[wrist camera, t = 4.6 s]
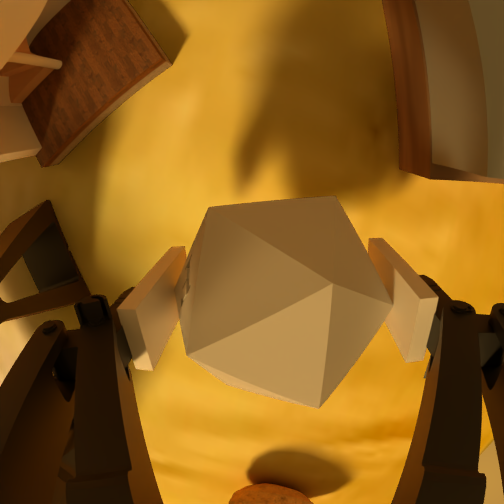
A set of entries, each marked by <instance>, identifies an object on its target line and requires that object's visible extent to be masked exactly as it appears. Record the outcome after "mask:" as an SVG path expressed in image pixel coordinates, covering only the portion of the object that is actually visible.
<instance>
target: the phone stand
mask: <svg viewBox="0 0 504 504" xmlns="http://www.w3.org/2000/svg"><path fill="white" fill-rule="evenodd" d="M22 255H23V258H24V260H25V262H26V265H27V267H28V269H29V271H30V273H31V275H32V278H33V280H34V282H35V284H36V286H37V288H38V290H39V294H36V295H33V296H29V297H26V298H23V299H20V300H17V301H14V302H11V303H6V302H4V301H3V300H2V299H1V298H0V324H1V323H2V322H5V321H10V320H14V319H18V318H22V317H26V316H30V315H34V314H39V313H43V312H47V311H51V310H54V309H58V308H61V307H65V306H68V305H72V304H75V303H76V302H77V301H79V300H80V299H82V298H84V297H87V296H90V295H91V293H90V291H89V289H88V287H87V285H86V283H85V281H84V279H83V277H82V275H81V273H80V271H79V269H78V267H77V264H76V262H75V260H74V258H73V256H72V253H71V251H69V250H68V244H67V242H66V240H65V237H64V235H63V232H62V230H61V228H60V225H59V223H58V220H57V217H56V215H55V212H54V210H53V207H52V204H51V202H50V201H49V200H46V201H44V202H42V203H41V204H39V205H38V206H36V207H34V208H33V209H31V210H30V211H28V212H27V213H25V214H24V215H22V216H21V217H19V218H18V219H16V220H15V221H13V222H12V223H10V224H9V225H8V226H7V228H6V229H5V230H4V231H3V232H2V234H1V235H0V282H1V281H2V280H3V278H4V277H5V276H6V274H7V273H8V272H9V271H10V269H11V268H12V267H13V266H14V265H15V263H16V262H17V261H18V260H19V259H20V257H21V256H22Z"/></svg>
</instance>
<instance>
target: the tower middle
mask: <svg viewBox="0 0 504 504" xmlns="http://www.w3.org/2000/svg"><path fill="white" fill-rule="evenodd" d="M415 4H416V8H417V13H418V17H419V22H420V28H421V33H422V39H423V45H424V52H425V59H426V66H427V75H428V84H429V95H430V109H431V129H432V163H434V164H438V165H442V166H447V167H451V168H455V169H458V170H462V171H466V172H470V173H473V174H477V175H481V176H484V177H488V178H498V179H504V0H415Z"/></svg>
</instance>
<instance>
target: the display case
mask: <svg viewBox="0 0 504 504" xmlns="http://www.w3.org/2000/svg"><path fill="white" fill-rule="evenodd" d="M170 66H172V63H171V62H170V61H169V59H168V58H167V56H166V55H165V53H164V52H163V50H162V49H161V47H160V46H159V44H158V43H157V42H156V40H155V39H154V37H153V36H152V34H151V33H150V31H149V30H148V29H147V27H146V26H145V24H144V23H143V21H142V20H141V19H140V17H139V16H138V14H137V13H136V11H135V10H134V9H133V7H132V6H131V4H130V3H129V2H128V0H0V163H1V162H5V161H10V160H15V159H20V158H25V157H30V156H35V155H36V157H37V159H38V161H39V163H40V165H41V167H42V168H43V167H48V166H52V165H57V164H59V163H60V162H61V161H62V160H63V159H64V158H65V157H66V156H67V155H68V154H69V153H70V152H71V151H72V150H73V149H74V148H75V147H76V146H77V145H78V144H79V143H80V142H81V141H82V140H83V139H84V138H85V137H86V136H87V135H88V134H89V133H90V132H91V131H92V130H93V129H94V128H95V127H96V126H97V125H98V124H100V123H101V122H102V121H103V120H104V119H105V118H106V117H107V116H108V115H110V114H111V113H112V112H113V111H114V110H115V109H116V108H118V107H119V106H120V105H121V104H122V103H124V102H125V101H126V100H127V99H128V98H130V97H131V96H132V95H133V94H134V93H136V92H137V91H138V90H140V89H141V88H142V87H143V86H145V85H146V84H147V83H149V82H150V81H151V80H152V79H154V78H155V77H156V76H158V75H159V74H161V73H162V72H163V71H165V70H166V69H167V68H169V67H170Z"/></svg>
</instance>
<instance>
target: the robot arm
mask: <svg viewBox="0 0 504 504" xmlns="http://www.w3.org/2000/svg"><path fill="white" fill-rule="evenodd" d="M368 255H369V257H370V259H371V261H372V262H373V264H374V266H375V268H376V270H377V272H378V274H379V276H380V278H381V280H382V282H383V284H384V286H385V288H386V290H387V292H388V295H389V297H390V299H391V301H392V303H393V308H392V310H391V311H390V313H389V314H388V316H387V317H386V319H385V320H384V321H385V323H386V325H387V327H388V329H389V331H390V333H391V335H392V336H393V338H394V340H395V342H396V344H397V346H398V348H399V350H400V352H401V354H402V356H403V358H404V360H405V362H406V363H409V362H415V361H421V360H423V359H424V356H425V352H426V348H428V350H429V352H430V353H431V356H430V359H429V363H428V366H427V369H426V372H425V375H424V378H426V380H425V386H424V391H423V396H422V401H421V406H420V410H419V415H418V419H417V423H416V427H415V431H414V435H413V439H412V442H411V446H410V449H409V453H408V456H407V460H406V463H405V466H404V469H403V472H402V475H401V478H400V481H399V484H398V487H397V490H396V492H395V495H394V498H393V500H392V503H391V504H483V503H484V497H485V489H486V476H485V474H483V473H479V472H478V462H479V452H480V440H481V421H482V395H483V398H484V402H485V405H486V409H487V412H488V416H489V420H490V424H491V428H492V432H493V437H494V441H495V446H496V450H497V455H498V460H499V466H500V472H501V479H502V486H503V493H504V303H497V304H495V305H493V307H492V310H491V314H490V315H483V314H476V311H475V309H474V308H473V307H472V306H471V305H470V304H468V303H466V302H463V301H458V300H452V299H451V298H450V297H449V296H448V295H447V294H446V293H445V292H444V291H443V290H442V289H441V288H440V287H439V286H438V285H437V284H436V283H435V282H434V280H433V279H431V278H429V277H427V276H425V275H418V274H417V273H416V272H415V271H414V270H413V269H412V268H411V267H410V266H409V265H408V264H407V262H406V261H405V260H404V259H403V258H402V257H401V256H400V255H399V254H398V253H397V252H396V251H395V250H394V249H393V248H392V247H391V246H390V245H389V244H388V243H387V242H386V241H385V240H384V239H383V238H369V242H368ZM186 259H187V258H186V251H185V246H181V247H171V248H170V249H169V250H168V251H167V252H166V253H165V254H164V256H163V257H162V258H161V259H160V260H159V261H158V262H157V263H156V264H155V266H154V267H153V268H152V269H151V270H150V271H149V272H148V273H147V275H146V276H145V277H144V278H143V279H142V280H141V281H140V282H139V284H138V285H137V286H136V287H131V288H130V289H128V290H126V291H124V292H123V293H122V294H121V295H120V296H119V298H118V299H117V300H116V301H115V302H114V304H112V305H111V307H110V308H109V305H108V301H107V298H106V296H104V295H98V294H96V295H90V296H87V297H84V298H82V299H80V300H79V301H77V302H76V303H75V305H74V308H75V311H76V314H77V317H78V320H79V323H80V325H81V326H80V329H76V330H68V331H66V328H65V326H64V323H63V322H62V321H60V320H53V321H51V320H50V321H48V322H44V323H43V324H42V325H41V326H39V327H38V328H37V329H36V331H35V332H34V334H33V335H32V337H31V338H30V340H29V341H28V343H27V344H26V346H25V347H24V349H23V350H22V352H21V353H20V355H19V357H18V358H17V360H16V361H15V363H14V365H13V366H12V368H11V369H10V371H9V373H8V374H7V376H6V378H5V379H4V381H3V383H2V385H1V386H0V504H163V501H162V498H161V495H160V492H159V489H158V486H157V482H156V479H155V476H154V472H153V469H152V465H151V462H150V458H149V454H148V451H147V447H146V443H145V439H144V435H143V430H142V426H141V422H140V417H139V413H138V408H137V403H136V398H135V393H134V387H133V382H132V376H131V372H130V369H129V366H128V363H129V362H130V360H131V358H132V359H133V362H134V365H135V368H136V369H141V370H151V371H153V370H154V368H155V366H156V364H157V362H158V360H159V358H160V356H161V354H162V352H163V350H164V348H165V346H166V344H167V342H168V340H169V338H170V336H171V334H172V332H173V330H174V328H175V326H176V324H177V322H178V320H179V314H178V309H177V303H176V297H175V291H174V288H175V286H176V283H177V281H178V279H179V276H180V274H181V271H182V269H183V266H184V264H185V261H186ZM52 372H53V373H52ZM53 374H54V376H53Z"/></svg>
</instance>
